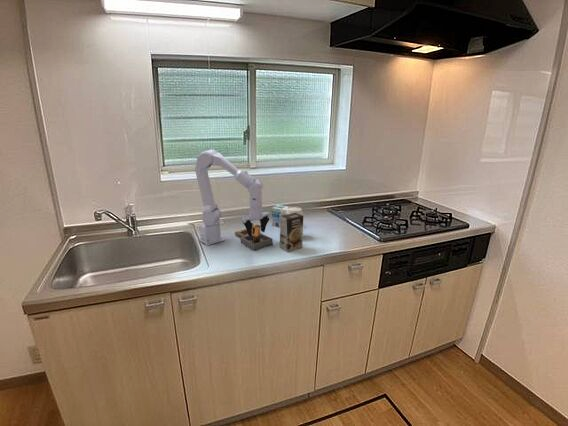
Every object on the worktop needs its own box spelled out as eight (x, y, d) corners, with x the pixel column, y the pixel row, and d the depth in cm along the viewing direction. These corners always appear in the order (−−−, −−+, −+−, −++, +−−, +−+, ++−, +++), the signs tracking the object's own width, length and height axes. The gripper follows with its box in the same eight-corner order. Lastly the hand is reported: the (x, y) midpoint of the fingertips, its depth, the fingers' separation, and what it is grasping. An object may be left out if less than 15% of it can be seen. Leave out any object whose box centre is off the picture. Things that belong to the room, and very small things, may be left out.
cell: (255, 245, 150) (254, 227, 147) (250, 242, 153) (250, 224, 150) (262, 242, 153) (261, 225, 150) (257, 240, 156) (256, 222, 153)
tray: (253, 250, 146) (253, 244, 145) (240, 243, 154) (240, 237, 153) (272, 244, 153) (272, 238, 152) (259, 237, 160) (258, 232, 160)
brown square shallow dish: (244, 240, 156) (244, 236, 156) (235, 235, 163) (235, 231, 162) (259, 236, 162) (259, 232, 161) (249, 231, 168) (249, 227, 167)
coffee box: (287, 252, 144) (288, 219, 139) (279, 247, 149) (279, 215, 144) (302, 247, 149) (304, 215, 144) (294, 243, 154) (295, 211, 149)
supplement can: (292, 232, 167) (293, 205, 163) (305, 236, 162) (306, 208, 158) (282, 237, 161) (283, 209, 157) (295, 241, 156) (296, 212, 152)
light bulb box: (271, 225, 177) (271, 207, 173) (277, 222, 182) (277, 204, 179) (288, 229, 172) (288, 210, 169) (293, 225, 178) (294, 207, 174)
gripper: (247, 211, 140) (248, 239, 144) (273, 205, 149) (273, 232, 153) (239, 207, 145) (240, 235, 149) (264, 202, 154) (264, 228, 158)
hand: (256, 233), depth 151 cm, fingers open, 7 cm apart
